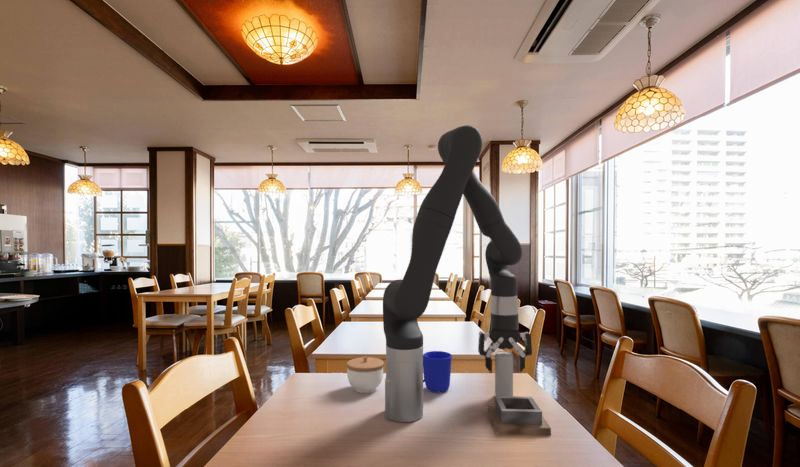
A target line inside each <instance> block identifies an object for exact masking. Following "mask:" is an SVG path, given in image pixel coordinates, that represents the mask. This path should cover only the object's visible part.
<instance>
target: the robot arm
mask: <svg viewBox="0 0 800 467" xmlns="http://www.w3.org/2000/svg"><path fill="white" fill-rule="evenodd" d="M482 148H483V138H482V134H481V133H480V131H479V129H478V128H477V127H475V126H473V125H461V126H458V127H456V128H453V129H452V130H449V131H447V132H445V133H444V134H442V135H441V136H440V137H439V139H438V142H437V152H438V153H439V157H440V158H441V160H442V162H443V164H444V166H443V169H442V171H441V173H440V175H439V177H438V178H437V180H436V181H435V182H434V183H433V185H432V187H431V188H430V189H429V191H428V192H427V194H426V195H425V197H424V198H423V200H422V202H421V204H420V206H419V209H418V212H417V214H416V217H415V220H414V224H413V227H412V232H411V254H410V255H411V256H410V260H409V261H408V262H409V263H408V265H407V268H406V270H405V273H404V276H403V278H402V279H394V280H393V281H391V282H390V283H388V285H387V286H386V287H385V289H384V292H383V297H382V321H383V334H384V336H385V379H384V394H385V395H384V419H385V420H392V421H395V422H399V423H412V422H415V421H419V420H420V419H421V418H423V416H424V382H423V380H424V368H423V355H424V335H423V333H422V331H421V328H420V325H419V322H418V319H420V317H421V316H423V315H424V313H425V311H426V310H427V308H428V305H429V301H430V298H431V293H432V289H433V285H434V280H435V276H436V273H437V269H438V266H439V263H440V260H441V258H442V255H443V253H444V249H445V246H446V244H447V240H448V238H449V236H450V233H451V230H452V227H453V224H454V221H455V217H456V215H457V212H458V209H459V206H460V204H461V200H462V198H463V196H464V198H465V200H466V202H467V204H468V206H469V209H471V212H472V214H473V218H474V219H475V222H476V224H477V227H478V229H479V230H480V232H481V235H482V236H485V237H487V238H489V239H491V241H489V242H488V244H487V245H486V247H485V256H484V257H485V262H486V266H487V267H486V268H487V271H488V274H489V277H490V278H489V279H490V294H491V295H490V301H489V304H490V305H489V306H490V307H489V310H490V313H489V314H490V315H489V316H490V331H489V332H483V331H479V332H478V345H477V346H478V347H477V348H478V350H477V351H478V353H479V355H480V356H484V367H485V368H486V369H487V371H489V372H492V355H493V354H494V353H496V352H495V351H496V350H497V349H498V350H504V349H507V350H512V349H515V350H516V352H517V354H519V355H517V359H518V360H517V361H518V362H517V364H518V365H517V366H518V370H519V371H520V372H523V371H524V370H525V368H526V357H528V356H532V355H533V349H532V348H533V347H532V335H531V333H530V332H528V331H525V332H520V331H519V329H520V328H519V322H520V321H519V301H518V282H517V280H518V279H517V277H516V275H514V274H513V273H512V272H510V270H509V266H515V265H516V264H518V263H520V261H521V259H522V256H523V249H522V245H521V243H520V240H519V238H518V237H517V235H516V234H514V232H513V230H512V229H511V227H510V226H509V225H508V224H507V223H506V221H505V219H504V216H503V214H502V211H501V209H500V207H499V206H500V205H499V204H498V202H497V201H496V199H495V197H494V196H493V194H492V193H491V192H490V191H489V189H488V188H487V187H486V186H485V185H484V184H483V183H482V181H481V180H480V179H479V177H478V176H477V174H476V172H475V171H474V168H475V166H476V164H477V162H478V159H479V157H480V155H481V153H482ZM488 338H489V339H490V340H491V342H490V343H489V344H488V347H487V349H486V350H485V342H486V341H487V340H488ZM521 338H522V341H524V350H522V349H521V347H520V345H519V344H518V341H520V340H521Z"/></svg>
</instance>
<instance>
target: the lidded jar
mask: <svg viewBox="0 0 800 467" xmlns="http://www.w3.org/2000/svg"><path fill="white" fill-rule="evenodd" d="M384 365H385V362H384V361H383V360H382V359H381V358H377V357H371V356H370V357H369V356H366V355H365V356H362V357H356V358H352V359H349V360H348V361H347V362H346V374H347V380H348V384H350V386H351V387H352V388H353V389H354V391H355V392H357V393H360V394H368V393H369V394H370V393H373V392H375V391H376V389H377V388H378V387H379V386H380V385H381V383H382V380H383V377H384Z"/></svg>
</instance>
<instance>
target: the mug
mask: <svg viewBox="0 0 800 467" xmlns="http://www.w3.org/2000/svg"><path fill="white" fill-rule="evenodd" d="M452 357H453V356H452V353H449V352H446V351H441V350H433V351H432V350H431V351H430V350H429V351H426V352H423V383H425V384H424V385H425V388H426V389H427V390H428V391H429V392H432V393H444V392H446V391H449V388H450V385H451V374H452V373H451V371H452V360H453V358H452Z"/></svg>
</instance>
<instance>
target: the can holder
mask: <svg viewBox="0 0 800 467" xmlns="http://www.w3.org/2000/svg"><path fill="white" fill-rule="evenodd" d="M487 412H488V416H489V418H490V420H491V421H490V422H491V423H492V425H493V428H494V430H495V434H496V435H532V436H534V435H535V436H536V435H539V436H541V435H542V436H551V435H552V428H551V427H550V425H549V423H548V422H547V421H546V419H545V417H544V416H543V411H542V410H541V408H540V407H539V405H538V404H537V402H536V401H535V399H534V398H533V396H517V395H515V396H514V395H513V396H496V395H494V405H487Z"/></svg>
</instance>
